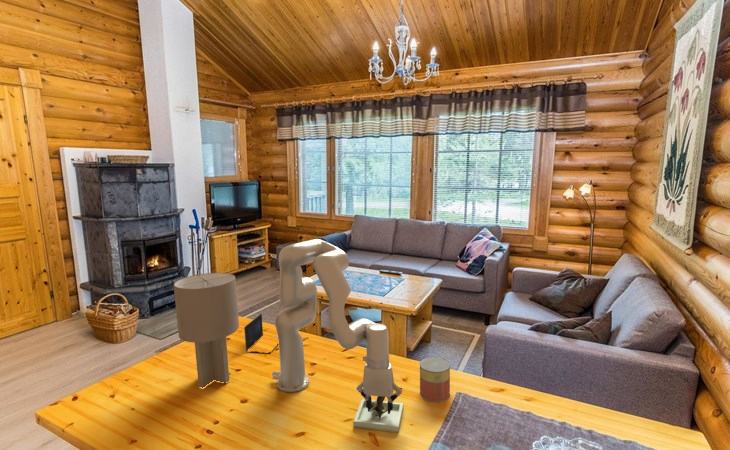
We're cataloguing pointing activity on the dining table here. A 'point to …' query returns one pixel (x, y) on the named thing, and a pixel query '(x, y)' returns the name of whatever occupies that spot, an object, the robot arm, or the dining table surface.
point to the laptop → (253, 331)
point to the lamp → (207, 321)
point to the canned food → (435, 379)
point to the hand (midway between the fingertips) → (379, 410)
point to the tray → (373, 422)
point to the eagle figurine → (378, 406)
